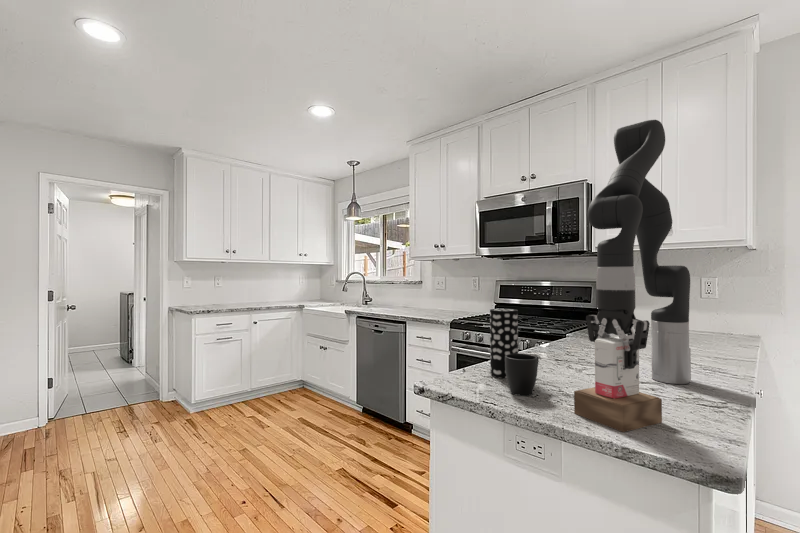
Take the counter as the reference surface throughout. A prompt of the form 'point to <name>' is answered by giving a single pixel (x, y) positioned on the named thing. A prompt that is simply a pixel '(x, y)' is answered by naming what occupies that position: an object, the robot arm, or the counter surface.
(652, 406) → the brown flat block
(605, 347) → the ink box
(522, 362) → the mug
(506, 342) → the white-spotted black cylinder
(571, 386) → the counter surface
